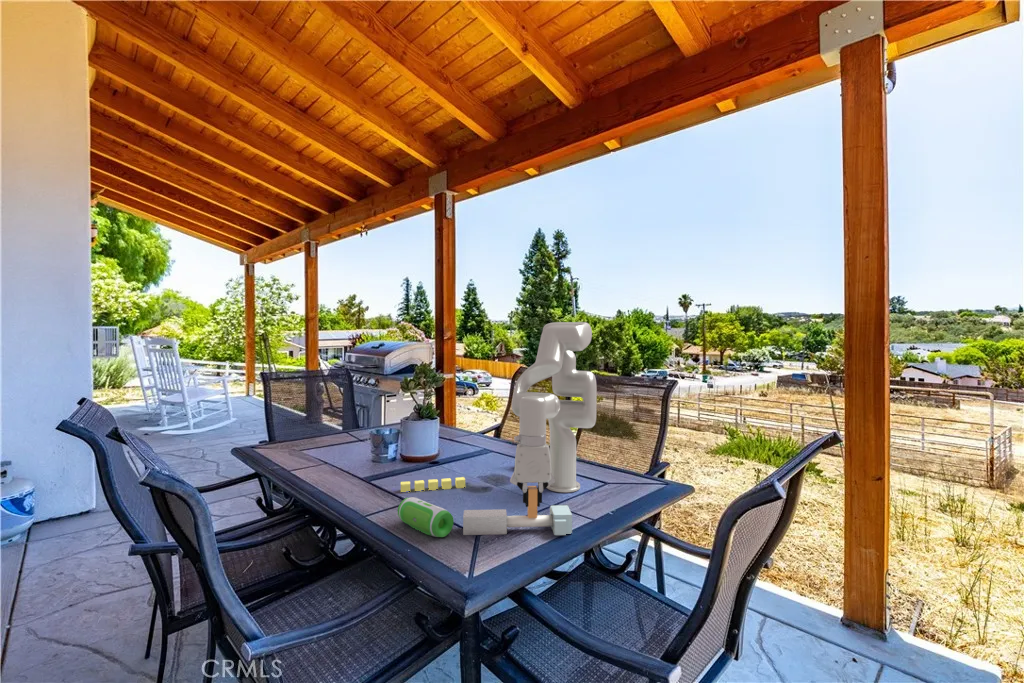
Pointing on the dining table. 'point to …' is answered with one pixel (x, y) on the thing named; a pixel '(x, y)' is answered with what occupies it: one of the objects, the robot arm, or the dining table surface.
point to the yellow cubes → (434, 484)
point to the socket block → (561, 519)
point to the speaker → (425, 517)
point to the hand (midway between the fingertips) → (532, 504)
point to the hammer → (531, 514)
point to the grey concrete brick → (484, 522)
